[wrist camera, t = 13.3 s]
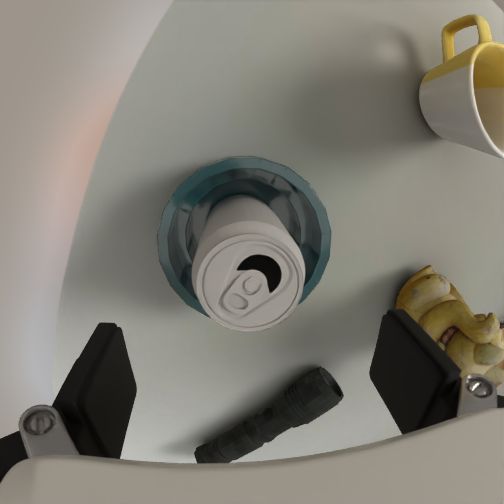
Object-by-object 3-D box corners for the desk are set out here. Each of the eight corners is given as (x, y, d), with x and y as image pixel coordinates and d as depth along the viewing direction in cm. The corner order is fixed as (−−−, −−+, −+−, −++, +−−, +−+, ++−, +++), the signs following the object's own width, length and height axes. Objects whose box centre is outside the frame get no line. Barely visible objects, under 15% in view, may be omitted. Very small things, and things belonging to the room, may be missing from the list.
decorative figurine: (452, 301, 34) (527, 367, 19) (406, 346, 35) (468, 427, 21) (423, 250, 31) (517, 312, 17) (370, 301, 32) (442, 391, 18)
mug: (466, 163, 28) (534, 176, 18) (395, 136, 27) (465, 137, 17) (474, 57, 24) (537, 45, 14) (406, 20, 23) (465, -12, 13)
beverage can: (292, 222, 28) (335, 274, 16) (247, 277, 29) (259, 356, 18) (234, 178, 26) (239, 200, 15) (190, 236, 27) (165, 298, 16)
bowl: (177, 293, 30) (167, 324, 24) (168, 158, 26) (152, 161, 20) (307, 289, 31) (323, 319, 25) (313, 157, 27) (334, 159, 21)
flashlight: (337, 378, 35) (350, 406, 31) (218, 452, 39) (218, 479, 34) (314, 358, 34) (326, 386, 29) (192, 438, 37) (190, 466, 33)
